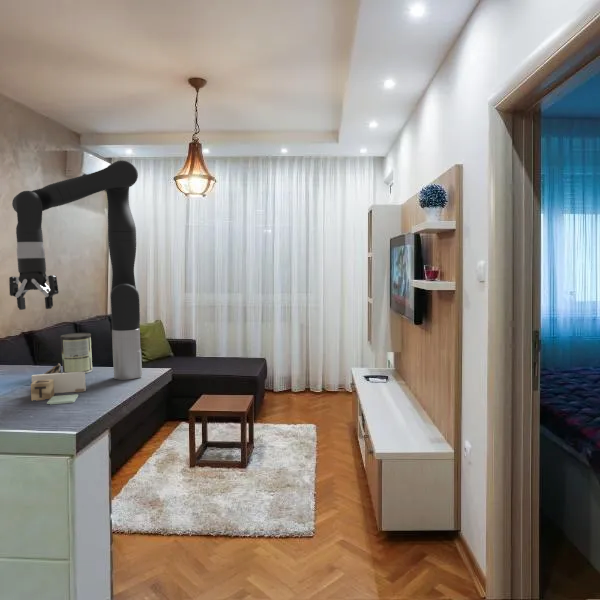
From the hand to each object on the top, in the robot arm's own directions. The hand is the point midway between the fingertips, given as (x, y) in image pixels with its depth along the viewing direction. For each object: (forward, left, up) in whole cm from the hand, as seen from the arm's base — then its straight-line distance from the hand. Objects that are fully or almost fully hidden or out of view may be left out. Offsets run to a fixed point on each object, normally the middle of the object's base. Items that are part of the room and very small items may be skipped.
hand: (35, 309), depth 147 cm
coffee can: (-6, -27, -27) cm, 38 cm away
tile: (-9, +13, -26) cm, 31 cm away
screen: (-6, +3, -26) cm, 27 cm away
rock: (-1, -5, -27) cm, 27 cm away
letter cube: (-3, +8, -26) cm, 28 cm away
